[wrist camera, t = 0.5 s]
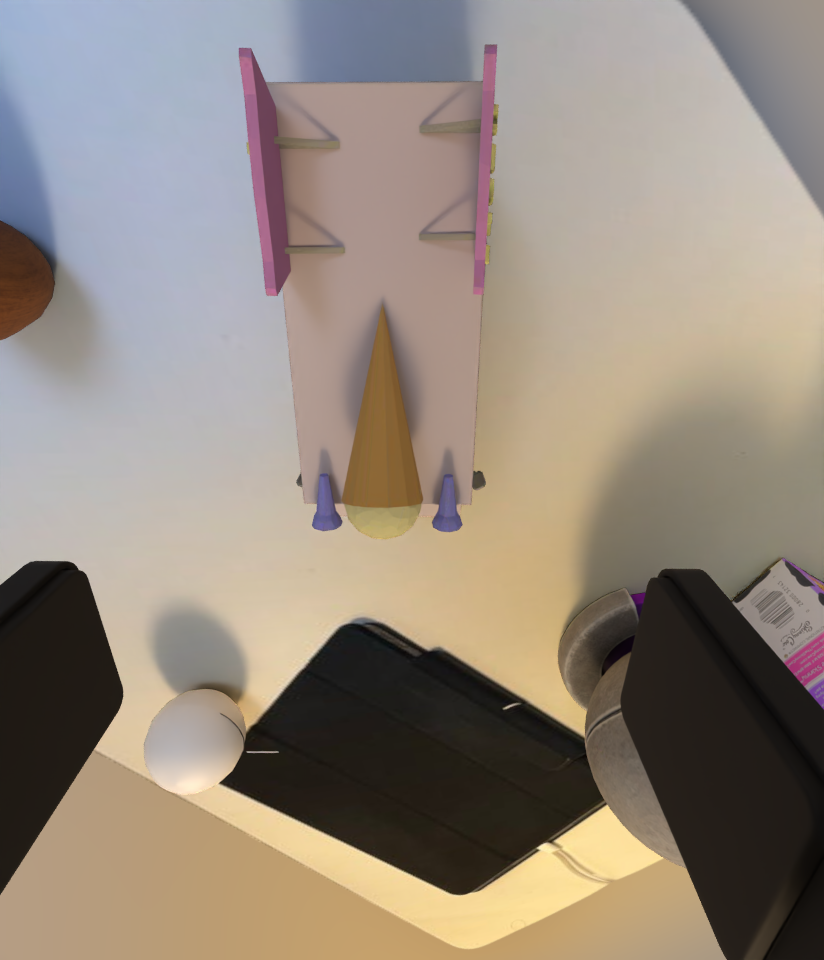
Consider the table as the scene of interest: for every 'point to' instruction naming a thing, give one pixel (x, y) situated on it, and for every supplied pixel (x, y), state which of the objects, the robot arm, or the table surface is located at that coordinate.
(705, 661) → the robot arm
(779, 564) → the candy box
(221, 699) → the seamed sphere
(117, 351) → the table surface
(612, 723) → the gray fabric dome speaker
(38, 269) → the wooden figurine
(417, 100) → the toy vehicle
